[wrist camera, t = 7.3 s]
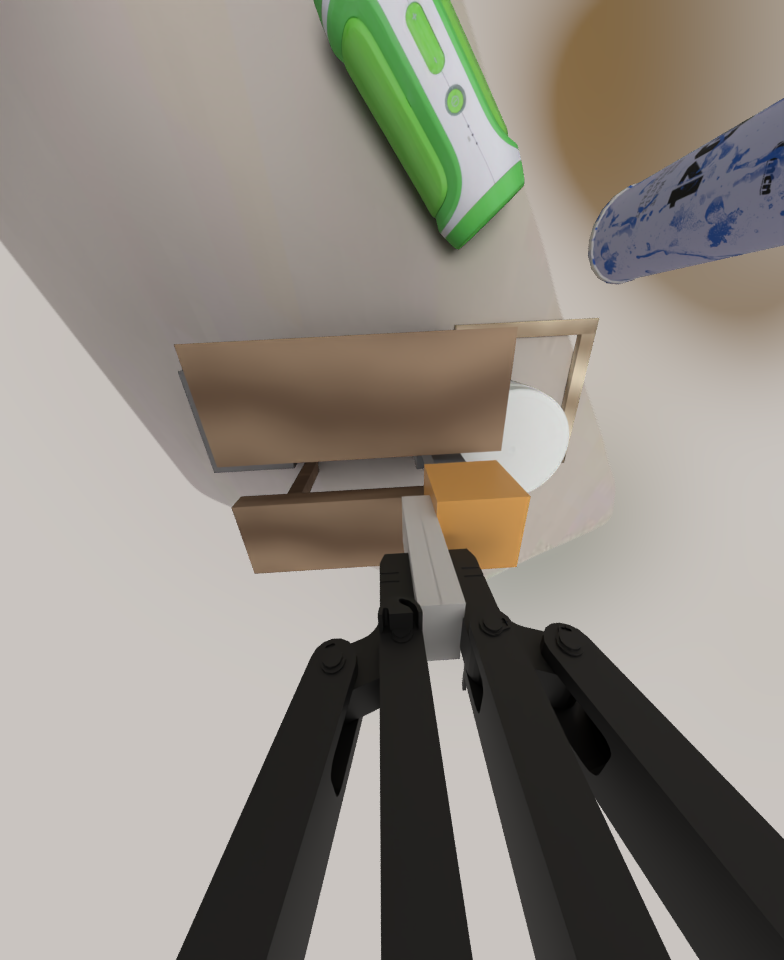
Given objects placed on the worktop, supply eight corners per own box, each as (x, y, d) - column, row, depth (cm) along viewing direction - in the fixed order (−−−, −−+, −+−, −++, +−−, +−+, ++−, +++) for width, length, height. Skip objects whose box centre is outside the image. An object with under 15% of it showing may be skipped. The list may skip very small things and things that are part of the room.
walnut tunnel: (281, 339, 31) (173, 344, 15) (445, 331, 32) (517, 326, 15) (307, 471, 39) (254, 573, 22) (441, 463, 39) (486, 558, 22)
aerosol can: (635, 161, 26) (1193, -218, 8) (686, 219, 28) (1222, 18, 10) (571, 253, 29) (880, 122, 11) (622, 300, 31) (951, 253, 13)
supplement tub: (495, 443, 38) (557, 501, 25) (423, 447, 38) (448, 507, 25) (505, 364, 33) (587, 384, 20) (424, 368, 33) (454, 390, 20)
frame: (454, 325, 31) (456, 325, 31) (594, 318, 32) (599, 317, 31) (448, 466, 39) (449, 469, 38) (560, 460, 39) (563, 462, 39)
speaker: (508, 202, 27) (550, 159, 20) (445, 263, 29) (465, 241, 22) (387, -48, 21) (392, -233, 14) (317, 51, 23) (291, -70, 16)
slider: (398, 353, 32) (440, 393, 10) (434, 351, 32) (552, 387, 10) (401, 450, 37) (433, 613, 15) (432, 448, 37) (508, 608, 15)
